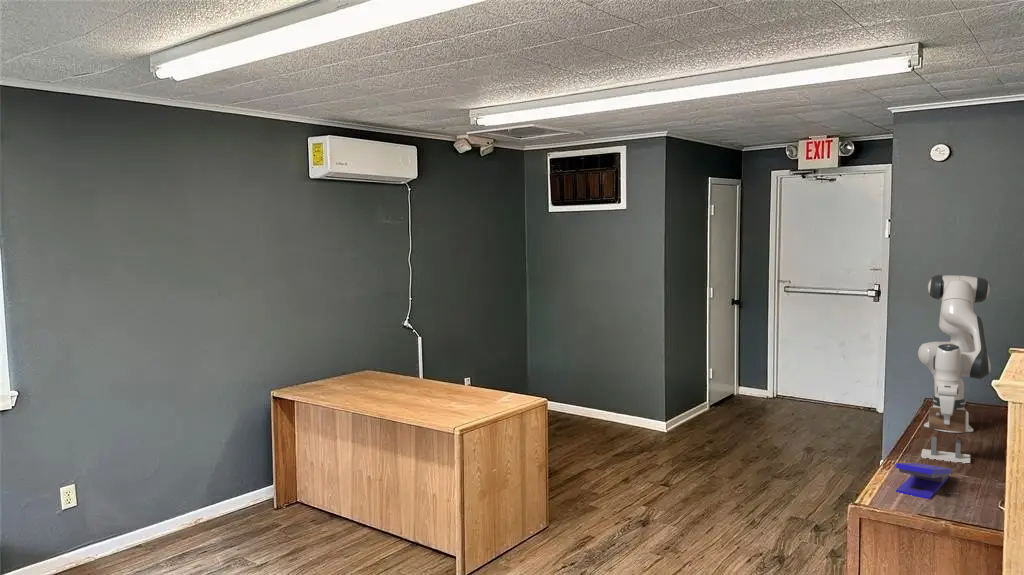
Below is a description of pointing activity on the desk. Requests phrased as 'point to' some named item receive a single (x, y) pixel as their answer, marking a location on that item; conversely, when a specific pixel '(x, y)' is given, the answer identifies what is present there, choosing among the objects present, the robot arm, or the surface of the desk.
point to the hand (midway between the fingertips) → (947, 422)
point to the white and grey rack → (945, 453)
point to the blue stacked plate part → (922, 479)
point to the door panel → (955, 420)
